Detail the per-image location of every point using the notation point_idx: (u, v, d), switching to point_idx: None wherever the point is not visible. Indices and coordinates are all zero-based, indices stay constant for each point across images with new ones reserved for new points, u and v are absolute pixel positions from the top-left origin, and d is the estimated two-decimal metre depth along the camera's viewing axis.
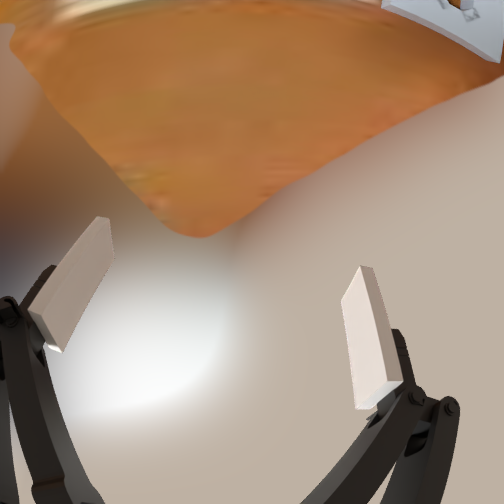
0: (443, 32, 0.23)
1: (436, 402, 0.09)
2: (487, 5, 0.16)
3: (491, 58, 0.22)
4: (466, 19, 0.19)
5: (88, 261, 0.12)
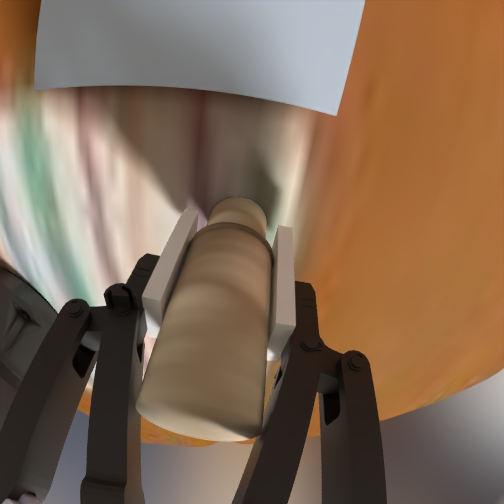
0: None
1: (337, 360, 0.10)
2: None
3: None
4: None
5: (185, 250, 0.14)
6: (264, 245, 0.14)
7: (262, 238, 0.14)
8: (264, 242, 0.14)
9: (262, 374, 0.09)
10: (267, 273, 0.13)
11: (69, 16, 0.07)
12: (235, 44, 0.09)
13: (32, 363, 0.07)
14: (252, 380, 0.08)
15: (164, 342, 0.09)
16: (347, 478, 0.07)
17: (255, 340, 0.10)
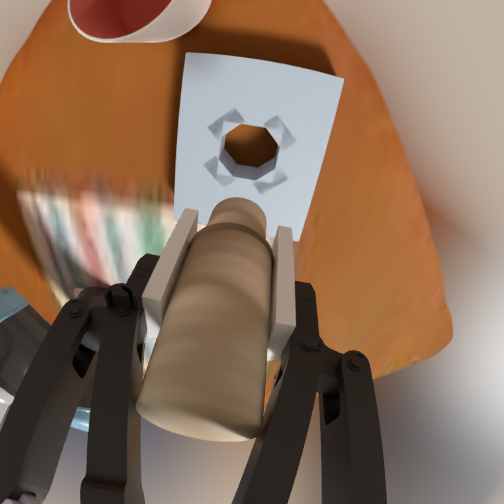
0: None
1: (337, 360, 0.10)
2: (246, 98, 0.23)
3: None
4: (291, 142, 0.26)
5: (185, 250, 0.14)
6: (264, 245, 0.14)
7: (262, 238, 0.14)
8: (264, 242, 0.14)
9: (262, 375, 0.09)
10: (267, 273, 0.13)
11: (193, 194, 0.30)
12: None
13: (32, 363, 0.07)
14: (252, 381, 0.08)
15: (164, 342, 0.09)
16: (347, 478, 0.07)
17: (255, 341, 0.10)
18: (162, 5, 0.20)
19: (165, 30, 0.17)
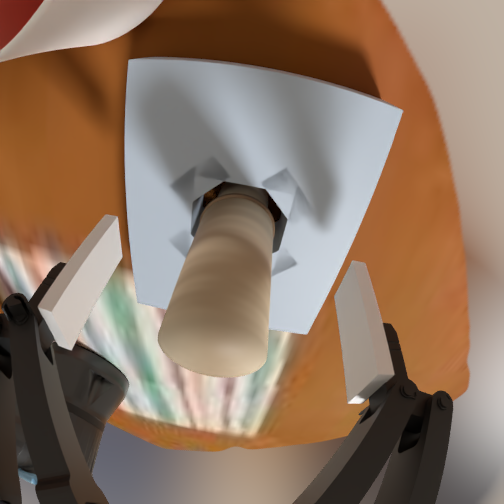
0: None
1: (428, 397, 0.09)
2: (232, 138, 0.14)
3: None
4: (306, 213, 0.16)
5: (97, 258, 0.12)
6: (267, 213, 0.16)
7: (265, 207, 0.16)
8: (267, 210, 0.16)
9: (266, 307, 0.12)
10: (269, 234, 0.15)
11: (159, 277, 0.20)
12: None
13: None
14: (258, 308, 0.11)
15: (185, 279, 0.11)
16: (404, 501, 0.06)
17: (260, 279, 0.12)
18: None
19: (81, 25, 0.08)
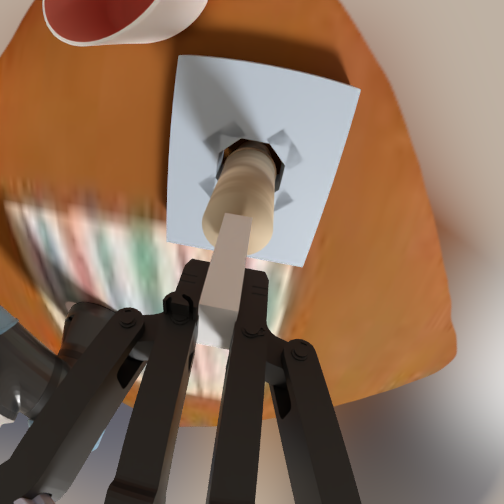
0: None
1: (281, 351, 0.10)
2: (247, 109, 0.21)
3: None
4: (298, 160, 0.23)
5: None
6: (270, 160, 0.23)
7: (269, 156, 0.23)
8: (270, 158, 0.23)
9: (272, 203, 0.18)
10: (272, 171, 0.22)
11: (188, 215, 0.27)
12: None
13: (73, 369, 0.08)
14: (267, 199, 0.17)
15: (220, 185, 0.18)
16: (310, 473, 0.07)
17: (267, 188, 0.19)
18: (154, 1, 0.17)
19: (153, 30, 0.14)
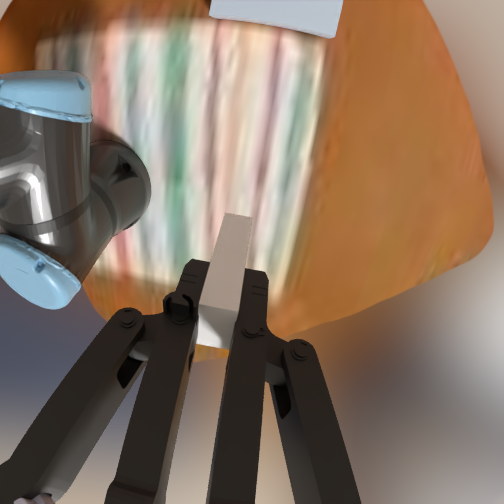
0: None
1: (281, 351, 0.10)
2: None
3: None
4: None
5: None
6: None
7: None
8: None
9: None
10: None
11: None
12: (300, 12, 0.23)
13: (73, 369, 0.08)
14: None
15: None
16: (310, 473, 0.07)
17: None
18: None
19: None
